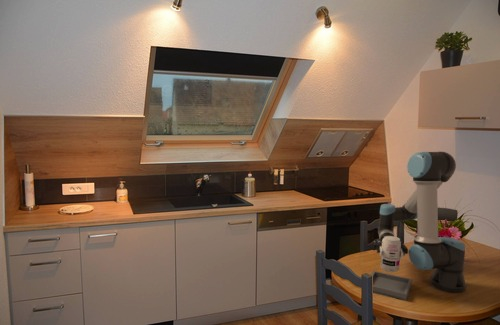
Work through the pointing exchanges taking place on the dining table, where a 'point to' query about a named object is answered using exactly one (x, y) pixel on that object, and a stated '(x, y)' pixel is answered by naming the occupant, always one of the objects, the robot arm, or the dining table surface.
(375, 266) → the dining table surface
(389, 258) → the supplement can
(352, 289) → the dining table surface
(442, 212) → the rubber mallet
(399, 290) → the tray
